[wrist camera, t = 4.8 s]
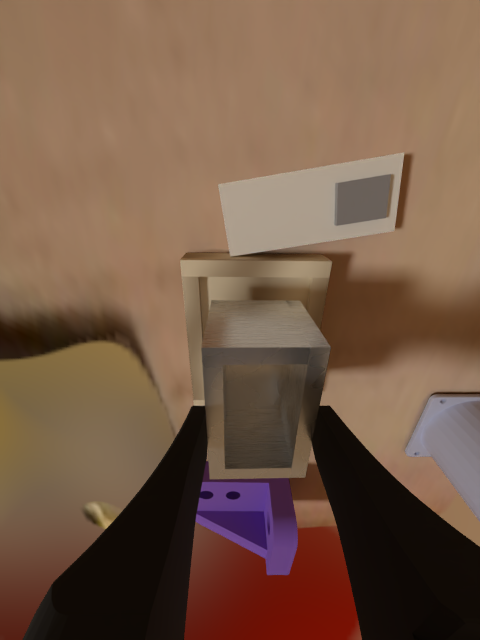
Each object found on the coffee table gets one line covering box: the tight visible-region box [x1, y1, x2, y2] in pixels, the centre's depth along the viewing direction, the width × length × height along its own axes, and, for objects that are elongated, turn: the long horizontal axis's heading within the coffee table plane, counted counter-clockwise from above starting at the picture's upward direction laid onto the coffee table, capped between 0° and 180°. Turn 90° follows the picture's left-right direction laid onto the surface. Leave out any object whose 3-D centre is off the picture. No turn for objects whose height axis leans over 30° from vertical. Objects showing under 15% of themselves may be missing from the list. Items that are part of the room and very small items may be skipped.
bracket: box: [195, 462, 298, 575], centre depth 25 cm, size 12×7×7 cm, turn 87°
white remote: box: [218, 153, 404, 257], centre depth 15 cm, size 4×10×2 cm, turn 99°
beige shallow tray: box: [180, 253, 332, 406], centre depth 18 cm, size 9×12×2 cm
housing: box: [201, 300, 331, 479], centre depth 14 cm, size 5×8×5 cm, turn 179°
